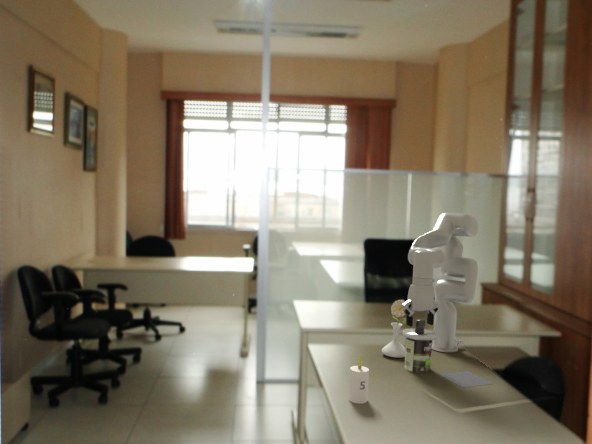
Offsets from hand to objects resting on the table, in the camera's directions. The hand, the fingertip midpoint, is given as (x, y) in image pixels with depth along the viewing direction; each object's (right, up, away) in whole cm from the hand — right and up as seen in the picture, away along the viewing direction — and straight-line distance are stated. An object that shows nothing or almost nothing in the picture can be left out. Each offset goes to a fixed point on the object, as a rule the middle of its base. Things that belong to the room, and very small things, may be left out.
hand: (419, 325), depth 206 cm
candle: (-28, -19, -31) cm, 46 cm away
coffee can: (-1, -19, +1) cm, 19 cm away
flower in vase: (-6, -17, +18) cm, 26 cm away
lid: (0, -4, 0) cm, 4 cm away
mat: (+15, -20, -9) cm, 26 cm away
